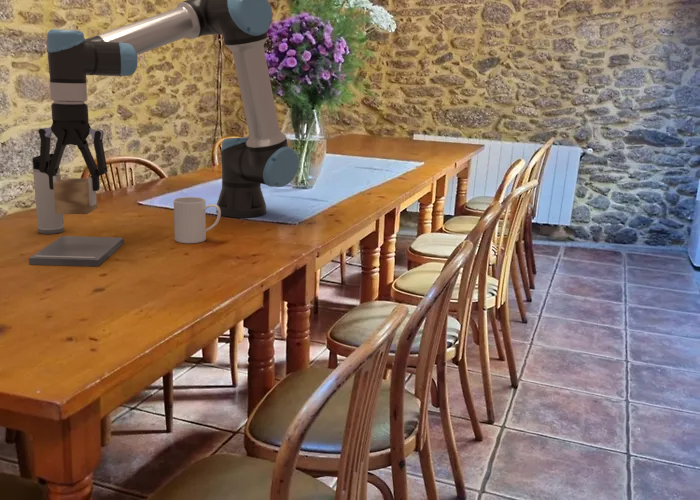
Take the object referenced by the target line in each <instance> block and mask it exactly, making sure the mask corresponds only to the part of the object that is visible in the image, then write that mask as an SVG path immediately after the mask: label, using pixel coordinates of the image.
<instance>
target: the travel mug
mask: <svg viewBox="0 0 700 500" xmlns="http://www.w3.org/2000/svg"><path fill="white" fill-rule="evenodd" d="M53 154H54V153H50V157H49V167H50V164H51V160H52V157H53ZM31 160H32V171H33V173H32V174H33V186H34V197H35V208H36V209H35V210H36V223H37V231H38V233H39V234H42V235H54V234H60V233H63V232H64V231H65V226H64V214H56V211H55V201H54V190H51V189H50V187H49V176H48V175H47V174H45V173H41V172H40V171H39V165H40V155H36V156H33V158H32V159H31ZM57 172H58V173H57V174H56V175H61V172H60V167H59V168H58V171H57Z"/></svg>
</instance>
